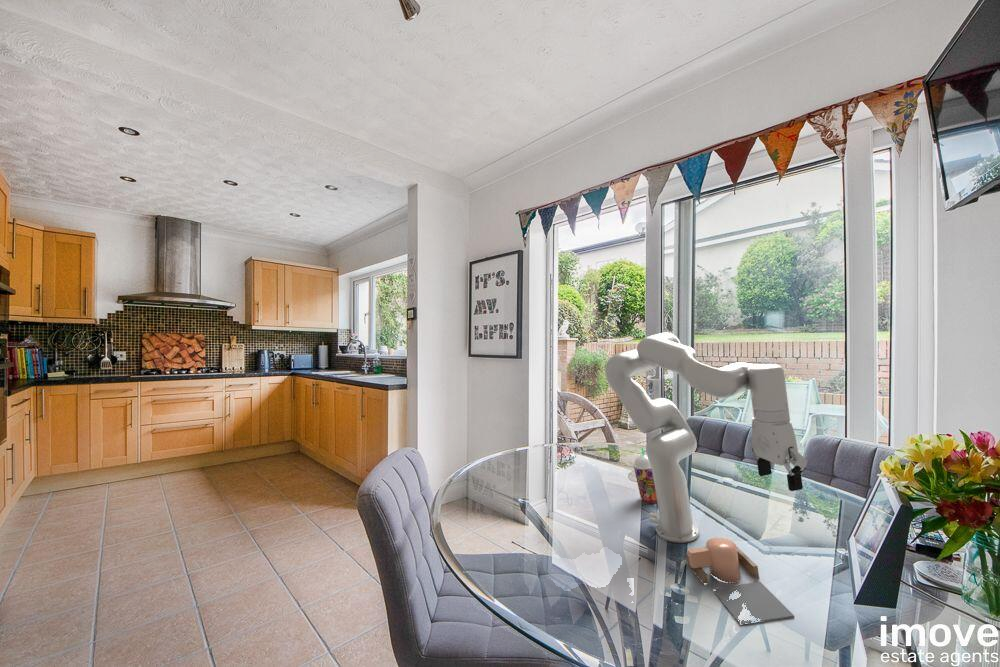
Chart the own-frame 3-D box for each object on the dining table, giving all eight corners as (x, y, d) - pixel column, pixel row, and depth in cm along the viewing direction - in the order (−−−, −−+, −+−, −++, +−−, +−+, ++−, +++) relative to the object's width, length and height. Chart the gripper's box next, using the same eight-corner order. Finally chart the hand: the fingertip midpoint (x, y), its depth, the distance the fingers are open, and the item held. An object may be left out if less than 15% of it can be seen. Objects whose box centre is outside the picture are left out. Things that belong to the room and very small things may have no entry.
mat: (712, 590, 103) (712, 589, 103) (760, 583, 103) (759, 581, 103) (740, 625, 92) (740, 624, 91) (794, 617, 91) (794, 615, 91)
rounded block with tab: (731, 564, 112) (727, 536, 112) (746, 580, 105) (742, 550, 105) (687, 571, 112) (683, 543, 112) (699, 588, 105) (695, 557, 105)
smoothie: (650, 507, 150) (641, 453, 149) (634, 499, 157) (626, 448, 157) (667, 500, 153) (659, 447, 152) (650, 493, 161) (643, 442, 160)
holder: (687, 563, 116) (685, 552, 115) (736, 555, 115) (735, 544, 115) (704, 586, 106) (702, 574, 105) (759, 577, 105) (757, 565, 105)
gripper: (733, 410, 111) (742, 472, 111) (784, 425, 94) (794, 499, 94) (759, 405, 111) (767, 467, 112) (814, 420, 94) (824, 493, 95)
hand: (779, 482), depth 103 cm, fingers open, 9 cm apart
